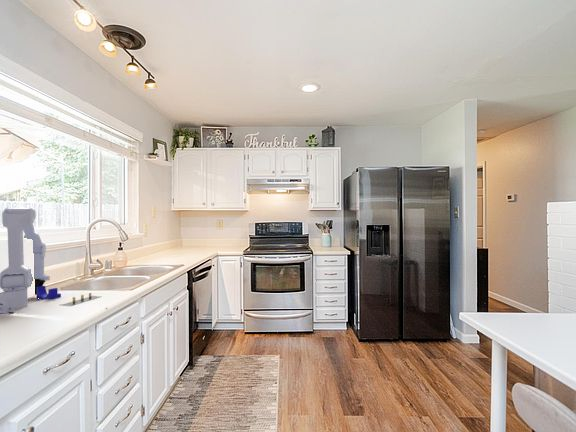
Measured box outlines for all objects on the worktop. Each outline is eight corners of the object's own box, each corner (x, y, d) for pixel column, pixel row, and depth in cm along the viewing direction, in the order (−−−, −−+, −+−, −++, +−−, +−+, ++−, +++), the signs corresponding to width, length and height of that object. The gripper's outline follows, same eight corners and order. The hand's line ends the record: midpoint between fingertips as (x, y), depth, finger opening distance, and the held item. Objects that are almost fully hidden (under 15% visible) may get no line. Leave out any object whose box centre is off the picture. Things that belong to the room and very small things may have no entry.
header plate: (70, 308, 131) (70, 305, 131) (58, 307, 133) (58, 304, 133) (102, 299, 147) (102, 296, 147) (91, 298, 149) (91, 295, 149)
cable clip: (61, 299, 147) (60, 287, 147) (50, 302, 143) (50, 289, 143) (47, 297, 152) (47, 285, 152) (36, 299, 148) (36, 287, 148)
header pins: (73, 303, 136) (73, 297, 136) (72, 303, 136) (72, 297, 136) (91, 298, 144) (91, 292, 144) (90, 298, 144) (90, 292, 144)
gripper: (55, 266, 154) (56, 293, 154) (34, 265, 158) (34, 291, 158) (41, 268, 147) (41, 296, 147) (19, 267, 151) (19, 294, 151)
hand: (36, 294), depth 152 cm, fingers closed
